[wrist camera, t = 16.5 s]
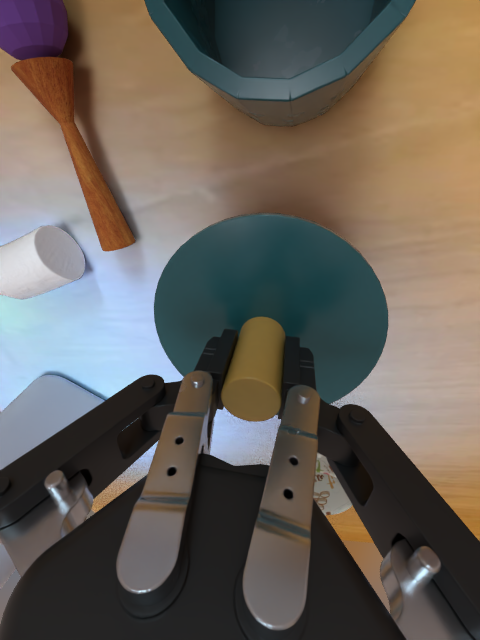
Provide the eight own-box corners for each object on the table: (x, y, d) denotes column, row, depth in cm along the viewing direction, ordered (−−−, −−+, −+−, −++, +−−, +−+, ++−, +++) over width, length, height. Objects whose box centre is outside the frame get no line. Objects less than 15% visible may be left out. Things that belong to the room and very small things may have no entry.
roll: (-6, 254, 33) (-57, 270, 29) (63, 219, 29) (17, 231, 25) (27, 297, 36) (-14, 318, 31) (95, 270, 32) (60, 290, 27)
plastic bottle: (44, 362, 42) (-287, 627, 18) (131, 410, 44) (-63, 704, 20) (30, 411, 50) (-215, 642, 26) (105, 450, 52) (-58, 697, 28)
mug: (280, 436, 41) (275, 508, 32) (280, 370, 34) (274, 439, 26) (339, 442, 39) (350, 520, 31) (349, 374, 33) (367, 449, 24)
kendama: (75, 257, 27) (-96, -67, 16) (117, 236, 31) (5, -27, 20) (121, 255, 24) (-42, -125, 14) (159, 233, 29) (58, -66, 18)
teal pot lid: (122, 304, 18) (50, 366, 13) (287, 144, 12) (280, 134, 7) (251, 424, 22) (237, 509, 16) (426, 348, 16) (491, 444, 10)
